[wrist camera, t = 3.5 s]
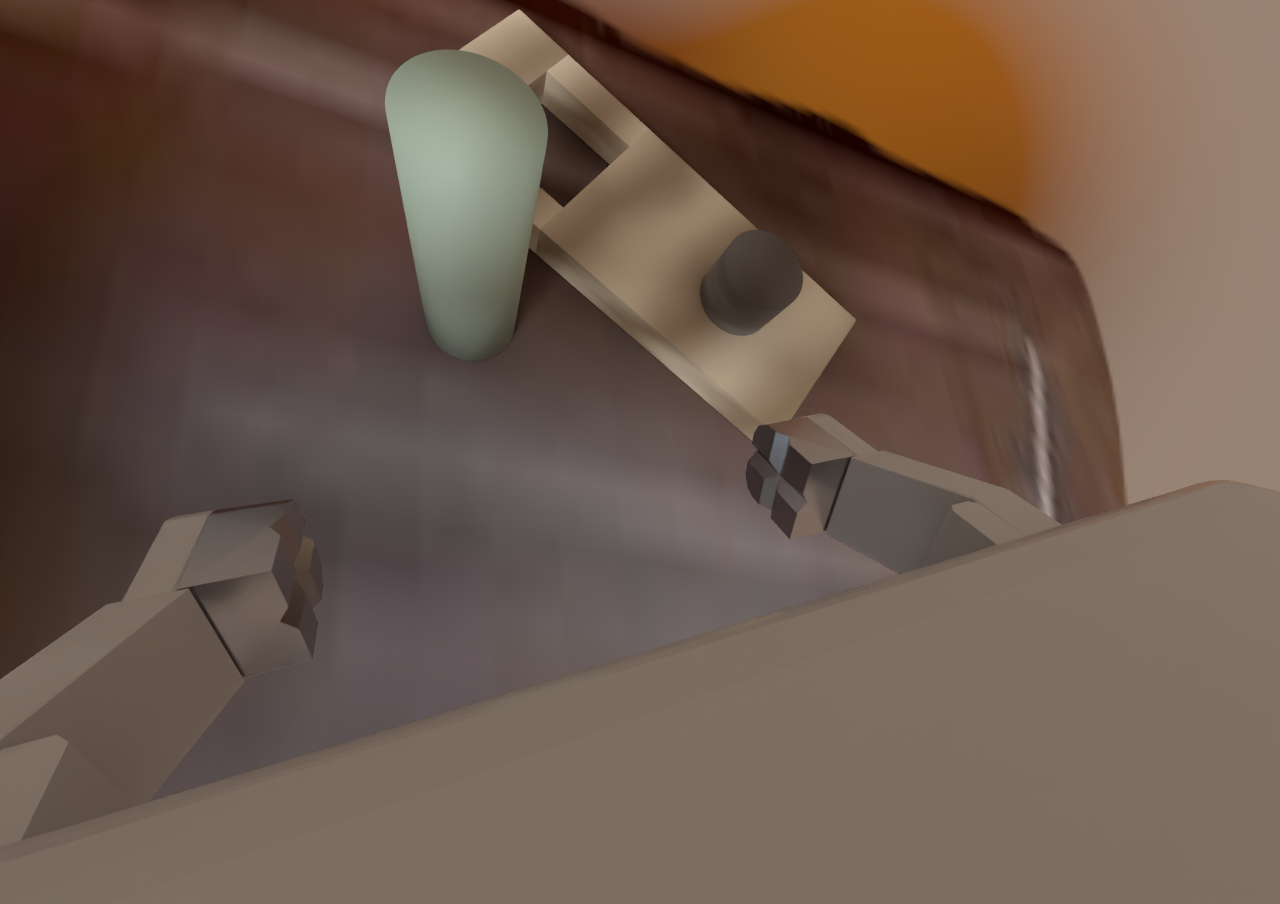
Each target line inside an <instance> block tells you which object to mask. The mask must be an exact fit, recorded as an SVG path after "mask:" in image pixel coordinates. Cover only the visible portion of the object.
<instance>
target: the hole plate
mask: <svg viewBox="0 0 1280 904" xmlns="http://www.w3.org/2000/svg"><path fill="white" fill-rule="evenodd" d="M460 50H461V51H467V52H472V53H476V54H479V55H482V56H485V57H488V58H490V59H492V60H495V61H496V62H498V63H500V64H502V65H504V66H505V67H507V68H508V69H510V70H511V71H513V72H514V73H515V74H517V75H518V76H519V77H520V78H521V79H522V80H523V81H524V82H525V83H526V84H527V85H528V86H529V87H530V88H531V90H532V91H533V92H534V93H535V95H536V97H537V98H538V100H539V101H540V103H541V104H543V105H544V106H545V107H546V108H547V109H548V110H550V111H551V112H552V113H553V114H554V115H555V116H556V117H557V118H558V119H560V120H561V121H562V122H563V123H564V124H565V125H566V126H567V127H568V128H570V129H571V130H572V131H573V132H574V133H575V134H576V135H577V136H578V137H579V138H581V139H582V140H583V141H584V142H585V143H586V144H587V145H588V146H589V147H591V148H592V149H593V150H594V151H595V152H596V153H597V154H598V155H599V156H601V157H602V158H603V159H604V160H605V161H606V162H607V163H608V164H609V166H608V167H607V168H606V169H605V170H604V171H603V172H602V173H600V174H599V175H598V176H597V177H596V178H595V179H594V180H593V181H592V182H591V183H590V184H589V185H587V186H586V187H585V188H584V189H583V190H582V191H581V192H580V193H579V194H578V195H577V196H576V197H574V198H573V199H572V200H571V201H570V202H569V203H568V204H567V205H566V206H565V207H564V208H563V207H562V206H561V205H560V204H559V203H557V202H556V201H555V200H554V199H553V198H552V197H551V196H550V195H548V194H547V193H546V192H545V191H544V190H543V189H542V188H540V187H539V192H538V197H537V203H536V209H535V214H534V220H533V226H532V232H531V237H530V243H529V248H530V249H531V250H532V251H533V252H534V253H536V254H537V255H538V256H539V257H540V258H541V259H543V260H544V261H545V262H546V263H547V264H548V265H550V266H551V267H552V268H553V269H554V270H555V271H556V272H558V273H559V274H560V275H561V276H562V277H563V278H565V279H566V280H567V281H568V282H569V283H570V284H571V285H573V286H574V287H575V288H576V289H577V290H578V291H580V292H581V293H582V294H583V295H584V296H585V297H586V298H588V299H589V300H590V301H591V302H592V303H593V304H595V305H596V306H597V307H598V308H599V309H600V310H602V311H603V312H604V313H605V314H606V315H607V316H608V317H610V318H611V319H612V320H613V321H614V322H615V323H617V324H618V325H619V326H620V327H621V328H622V329H623V330H625V331H626V332H627V333H628V334H629V335H630V336H632V337H633V338H634V339H635V340H636V341H637V342H639V343H640V344H641V345H642V346H643V347H644V348H645V349H647V350H648V351H649V352H650V353H651V354H652V355H654V356H655V357H656V358H657V359H658V360H659V361H660V362H662V363H663V364H664V365H665V366H666V367H667V368H669V369H670V370H671V371H672V372H673V373H674V374H675V375H677V376H678V377H679V378H680V379H681V380H682V381H684V382H685V383H686V384H687V385H688V386H689V387H691V388H692V389H693V390H694V391H695V392H696V393H697V394H699V395H700V396H701V397H702V398H703V399H704V400H706V401H707V402H708V403H709V404H710V405H711V406H712V407H714V408H715V409H716V410H717V411H718V412H719V413H721V414H722V415H723V416H724V417H725V418H726V419H727V420H729V421H730V422H731V423H732V424H733V425H734V426H736V427H737V428H738V429H739V430H740V431H741V432H743V433H744V434H745V435H746V436H747V437H748V438H749V439H751V440H753V435H754V432H755V430H756V429H757V427H758V426H759V425H763V424H769V423H775V422H780V421H786V420H791V419H792V417H793V416H794V414H795V413H796V411H797V410H798V408H799V406H800V405H801V403H802V402H803V400H804V399H805V397H806V396H807V394H808V393H809V391H810V390H811V388H812V387H813V385H814V384H815V382H816V381H817V379H818V378H819V376H820V375H821V373H822V372H823V370H824V368H825V367H826V365H827V364H828V362H829V361H830V359H831V358H832V356H833V355H834V353H835V352H836V350H837V349H838V347H839V346H840V344H841V343H842V341H843V340H844V338H845V337H846V335H847V334H848V332H849V330H850V329H851V327H852V326H853V324H854V323H855V321H856V319H855V318H854V317H853V316H851V315H850V314H849V313H848V312H847V311H846V310H845V309H844V308H843V307H842V306H841V305H839V304H838V303H837V302H836V301H835V300H834V299H833V298H832V297H831V296H830V295H829V294H828V293H826V292H825V291H824V290H823V289H822V288H821V287H820V286H819V285H818V284H817V283H816V282H815V281H813V280H812V279H811V278H810V277H809V276H808V275H807V274H806V273H805V272H804V271H803V270H802V267H801V264H800V262H799V259H798V257H797V255H796V254H795V252H794V251H793V250H792V248H791V247H790V246H789V245H788V244H787V243H786V242H785V241H784V240H782V239H781V238H780V237H778V236H776V235H774V234H772V233H770V232H767V231H763V230H758V229H757V228H756V227H755V226H754V225H753V224H752V223H751V222H749V221H748V220H747V219H746V218H745V217H744V216H743V215H742V214H741V213H740V212H739V211H738V210H736V209H735V208H734V207H733V206H732V205H731V204H730V203H729V202H728V201H727V200H726V199H724V198H723V197H722V196H721V195H720V194H719V193H718V192H717V191H716V190H715V189H714V188H713V187H711V186H710V185H709V184H708V183H707V182H706V181H705V180H704V179H703V178H702V177H701V176H700V175H698V174H697V173H696V172H695V171H694V170H693V169H692V168H691V167H690V166H689V165H688V164H687V163H685V162H684V161H683V160H682V159H681V158H680V157H679V156H678V155H677V154H676V153H675V152H673V151H672V150H671V149H670V148H669V147H668V146H667V145H666V144H665V143H664V142H663V141H662V140H660V139H659V138H658V137H657V136H656V135H655V134H654V133H653V132H652V131H651V130H650V129H649V128H647V127H646V126H645V125H644V124H643V123H642V122H641V121H640V120H639V119H638V118H637V117H636V116H634V115H633V114H632V113H631V112H630V111H629V110H628V109H627V108H626V107H625V106H624V105H622V104H621V103H620V102H619V101H618V100H617V99H616V98H615V97H614V96H613V95H612V94H611V93H609V92H608V91H607V90H606V89H605V88H604V87H603V86H602V85H601V84H600V83H599V82H598V81H596V80H595V79H594V78H593V77H592V76H591V75H590V74H589V73H588V72H587V71H586V70H585V69H583V68H582V67H581V66H580V65H579V64H578V63H577V62H576V61H575V60H574V59H573V58H571V57H570V56H569V55H568V54H567V53H566V52H565V51H564V50H563V49H562V48H561V47H560V46H558V45H557V44H556V43H555V42H554V41H553V40H552V39H551V38H550V37H549V36H548V35H547V34H545V33H544V32H543V31H542V30H541V29H540V28H539V27H538V26H537V25H536V24H535V23H534V22H532V21H531V20H530V19H529V18H528V17H527V16H526V15H525V14H524V13H523V12H522V11H520V10H517V11H516V12H514V13H513V14H511V15H510V16H508V17H507V18H505V19H504V20H503V21H501V22H500V23H498V24H497V25H495V26H494V27H492V28H491V29H489V30H488V31H486V32H485V33H483V34H482V35H480V36H479V37H477V38H476V39H474V40H473V41H471V42H470V43H469V44H467V45H466V46H464V47H463V48H461V49H460Z"/></svg>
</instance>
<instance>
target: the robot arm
mask: <svg viewBox="0 0 1280 904" xmlns="http://www.w3.org/2000/svg"><path fill="white" fill-rule="evenodd" d="M752 444H753V446H754V448H755V450H756V452H755V453H754V454H753V456H752V457H751V458H750V459H749V461H748V464H747V470H746V480H747V486H748V489H749V491H750V493H751V495H752V497H753V498H754V499H755V500H756V502H757V503H758V504H760V505H762V506H764V507H766V508H769V509H771V519H772V520H773V521H774V522H775V523H776V524H777V525H778V527H779V528H780V529H781V530H782V531H783V532H784V533H785V534H786V536H787V537H788V538H789V539H793V538H798V537H803V536H807V535H812V534H816V533H821V532H825V531H826V533H825V534H827V535H829V536H831V537H833V538H835V539H836V540H838V541H840V542H842V543H844V544H845V545H847V546H849V547H851V548H853V549H854V550H856V551H858V552H860V553H862V554H864V555H865V556H867V557H869V558H871V559H873V560H874V561H876V562H878V563H880V564H882V565H884V566H885V567H887V568H889V569H891V570H893V571H894V572H896V573H898V574H899V575H896V576H892V577H889V578H886V579H883V580H879V581H876V582H873V583H869V584H866V585H863V586H859V587H856V588H853V589H850V590H846V591H843V592H840V593H836V594H833V595H830V596H826V597H823V598H820V599H816V600H813V601H810V602H807V603H803V604H800V605H797V606H793V607H790V608H787V609H783V610H780V611H777V612H773V613H770V614H767V615H764V616H760V617H757V618H754V619H750V620H747V621H744V622H740V623H737V624H734V625H731V626H727V627H724V628H721V629H717V630H714V631H711V632H707V633H704V634H701V635H698V636H694V637H691V638H688V639H684V640H681V641H678V642H674V643H671V644H668V645H665V646H661V647H658V648H655V649H651V650H648V651H645V652H642V653H638V654H635V655H632V656H628V657H625V658H622V659H618V660H615V661H612V662H609V663H605V664H602V665H599V666H595V667H592V668H589V669H585V670H582V671H579V672H576V673H572V674H569V675H566V676H562V677H559V678H556V679H552V680H549V681H546V682H543V683H539V684H536V685H533V686H529V687H526V688H523V689H519V690H516V691H513V692H510V693H506V694H503V695H500V696H496V697H493V698H490V699H487V700H483V701H480V702H477V703H473V704H470V705H467V706H463V707H460V708H457V709H454V710H450V711H447V712H444V713H440V714H437V715H434V716H430V717H427V718H424V719H421V720H417V721H414V722H411V723H407V724H404V725H401V726H397V727H394V728H391V729H388V730H384V731H381V732H378V733H374V734H371V735H368V736H365V737H361V738H358V739H355V740H351V741H348V742H345V743H341V744H338V745H335V746H332V747H328V748H325V749H322V750H318V751H315V752H312V753H308V754H305V755H302V756H299V757H295V758H292V759H289V760H285V761H282V762H279V763H275V764H272V765H269V766H266V767H262V768H259V769H256V770H252V771H249V772H246V773H242V774H239V775H236V776H233V777H229V778H226V779H223V780H219V781H216V782H213V783H209V784H206V785H203V786H200V787H196V788H193V789H190V790H186V791H183V792H180V793H177V794H173V795H170V796H167V797H163V798H160V799H157V800H153V801H150V802H148V801H149V800H150V799H151V798H152V796H153V795H154V794H155V793H156V791H157V790H158V789H159V788H160V786H161V785H162V784H163V783H164V781H165V780H166V779H167V778H168V776H169V775H170V774H171V773H172V771H173V770H174V769H175V768H176V766H177V765H178V764H179V763H180V761H181V760H182V759H183V758H184V756H185V755H186V754H187V753H188V751H189V750H190V749H191V748H192V746H193V745H194V744H195V743H196V741H197V740H198V739H199V738H200V736H201V735H202V734H203V733H204V731H205V730H206V729H207V728H208V726H209V725H210V724H211V723H212V721H213V720H214V719H215V718H216V716H217V715H218V714H219V713H220V711H221V710H222V709H223V708H224V706H225V705H226V704H227V703H228V701H229V700H230V699H231V698H232V696H233V695H234V694H235V693H236V691H237V690H238V689H239V688H240V686H241V685H242V684H243V683H244V679H243V678H246V677H249V676H253V675H257V674H260V673H264V672H267V671H271V670H275V669H278V668H282V667H286V666H289V665H293V664H297V663H300V662H304V661H307V660H311V659H313V654H314V647H315V640H316V634H317V627H318V621H317V619H316V617H315V614H314V612H313V608H314V607H315V606H316V605H317V604H318V603H319V602H320V601H321V598H322V590H323V577H322V566H321V562H320V557H319V553H318V550H317V548H316V545H315V542H314V541H312V540H310V539H308V538H307V537H305V536H303V533H304V528H305V522H306V519H305V517H304V515H303V512H302V510H301V508H300V505H299V503H297V502H296V501H295V500H294V499H290V500H283V501H276V502H269V503H262V504H255V505H248V506H241V507H234V508H227V509H220V510H215V511H206V512H200V513H194V514H187V515H181V516H175V517H172V518H170V519H168V520H166V521H165V522H164V523H163V525H162V527H161V529H160V530H159V532H158V534H157V536H156V538H155V540H154V542H153V544H152V545H151V547H150V549H149V551H148V553H147V555H146V557H145V558H144V560H143V562H142V564H141V566H140V568H139V570H138V572H137V573H136V575H135V577H134V579H133V581H132V583H131V585H130V586H129V588H128V590H127V592H126V594H125V596H124V598H123V600H122V601H121V602H117V603H112V604H107V605H105V606H104V607H103V608H101V609H100V610H98V611H97V612H95V613H94V614H93V615H91V616H90V617H88V618H87V619H86V620H84V621H83V622H81V623H80V624H78V625H77V626H76V627H74V628H73V629H71V630H70V631H68V632H67V633H66V634H64V635H63V636H61V637H60V638H59V639H57V640H56V641H54V642H53V643H51V644H50V645H49V646H47V647H46V648H44V649H43V650H41V651H40V652H39V653H37V654H36V655H34V656H33V657H32V658H30V659H29V660H27V661H26V662H24V663H23V664H22V665H20V666H19V667H17V668H16V669H15V670H13V671H12V672H10V673H9V674H7V675H6V676H5V677H3V678H2V679H0V904H1280V492H1278V491H1274V490H1270V489H1266V488H1261V487H1257V486H1254V485H1250V484H1246V483H1240V482H1235V481H1229V480H1214V481H1207V482H1203V483H1198V484H1195V485H1192V486H1188V487H1185V488H1182V489H1179V490H1176V491H1173V492H1170V493H1166V494H1163V495H1160V496H1156V497H1153V498H1150V499H1146V500H1143V501H1140V502H1137V503H1133V504H1130V505H1127V506H1123V507H1120V508H1117V509H1113V510H1110V511H1107V512H1103V513H1100V514H1097V515H1094V516H1090V517H1087V518H1084V519H1080V520H1077V521H1074V522H1071V523H1067V524H1064V525H1061V524H1060V523H1058V522H1057V521H1055V520H1054V519H1052V518H1051V517H1049V516H1048V515H1046V514H1045V513H1043V512H1042V511H1040V510H1038V509H1037V508H1035V507H1034V506H1032V505H1031V504H1029V503H1028V502H1026V501H1025V500H1023V499H1022V498H1020V497H1019V496H1017V495H1016V494H1014V493H1013V492H1011V491H1009V490H1008V489H1005V488H1002V487H998V486H995V485H992V484H989V483H986V482H982V481H979V480H976V479H973V478H970V477H966V476H963V475H960V474H957V473H954V472H950V471H947V470H944V469H941V468H938V467H934V466H931V465H928V464H925V463H922V462H918V461H915V460H912V459H909V458H906V457H902V456H899V455H896V454H893V453H890V452H886V451H880V452H878V451H876V450H875V449H874V448H872V447H871V446H870V445H868V444H867V443H866V442H864V441H863V440H862V439H860V438H859V437H858V436H856V435H855V434H854V433H852V432H851V431H850V430H848V429H847V428H845V427H844V426H843V425H841V424H840V423H839V422H837V421H836V420H835V419H833V418H832V417H831V416H829V415H826V414H822V413H820V414H815V415H810V416H805V417H801V418H798V419H792V420H786V421H780V422H775V423H769V424H763V425H759V426H758V427H757V429H756V430H755V432H754V435H753V440H752Z"/></svg>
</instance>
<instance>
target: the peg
mask: <svg viewBox="0 0 1280 904" xmlns="http://www.w3.org/2000/svg"><path fill="white" fill-rule="evenodd" d="M385 108H386V115H387V121H388V126H389V131H390V136H391V142H392V147H393V152H394V158H395V163H396V168H397V173H398V179H399V184H400V189H401V195H402V200H403V205H404V210H405V216H406V221H407V226H408V232H409V237H410V242H411V247H412V253H413V258H414V263H415V268H416V274H417V279H418V284H419V290H420V295H421V300H422V305H423V311H424V316H425V321H426V326H427V330H428V333H429V335H430V337H431V338H432V340H433V341H434V343H435V344H436V345H437V346H438V347H439V348H440V349H441V350H442V351H444V352H445V353H447V354H449V355H450V356H452V357H455V358H457V359H461V360H466V361H482V360H486V359H489V358H492V357H494V356H496V355H498V354H499V353H501V352H502V351H503V350H504V349H505V348H506V347H507V346H508V344H509V343H510V341H511V339H512V337H513V333H514V329H515V323H516V317H517V312H518V306H519V300H520V294H521V289H522V283H523V277H524V272H525V266H526V260H527V254H528V249H529V243H530V237H531V232H532V226H533V220H534V214H535V209H536V203H537V197H538V192H539V186H540V180H541V174H542V169H543V163H544V157H545V152H546V146H547V139H548V125H547V119H546V116H545V113H544V110H543V107H542V105H541V103H540V101H539V100H538V98H537V97H536V95H535V93H534V92H533V91H532V90H531V88H530V87H529V86H528V85H527V84H526V83H525V82H524V81H523V80H522V79H521V78H520V77H519V76H518V75H517V74H515V73H514V72H513V71H511V70H510V69H508V68H507V67H505V66H504V65H502V64H500V63H498V62H496V61H495V60H492V59H490V58H488V57H485V56H482V55H479V54H476V53H472V52H467V51H461V50H436V51H430V52H426V53H423V54H420V55H418V56H415V57H413V58H411V59H410V60H408V61H407V62H405V63H404V64H403V65H401V66H400V67H399V68H398V70H397V71H396V72H395V73H394V75H393V76H392V78H391V79H390V82H389V84H388V86H387V90H386V95H385Z"/></svg>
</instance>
